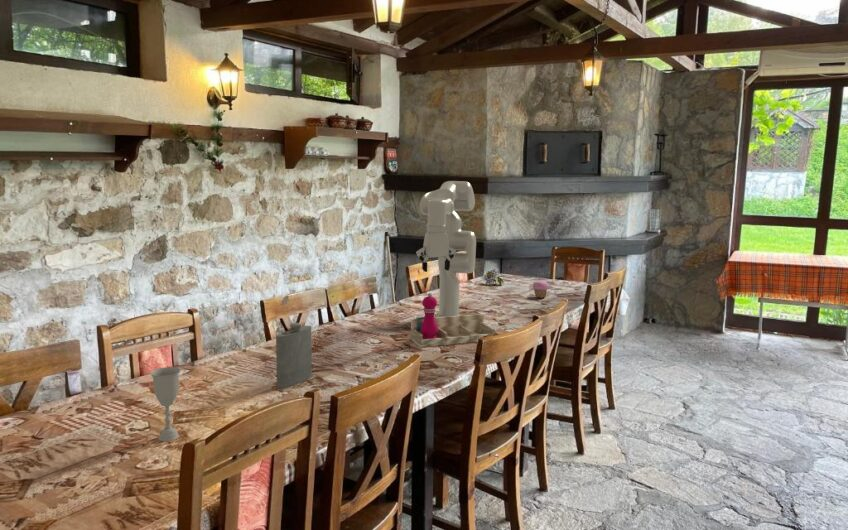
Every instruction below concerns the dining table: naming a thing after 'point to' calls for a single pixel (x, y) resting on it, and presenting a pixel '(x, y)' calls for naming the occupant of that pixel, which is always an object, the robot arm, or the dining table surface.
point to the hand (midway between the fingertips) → (436, 270)
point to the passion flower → (492, 277)
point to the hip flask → (293, 356)
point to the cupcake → (540, 288)
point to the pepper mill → (429, 318)
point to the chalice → (166, 396)
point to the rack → (452, 330)
